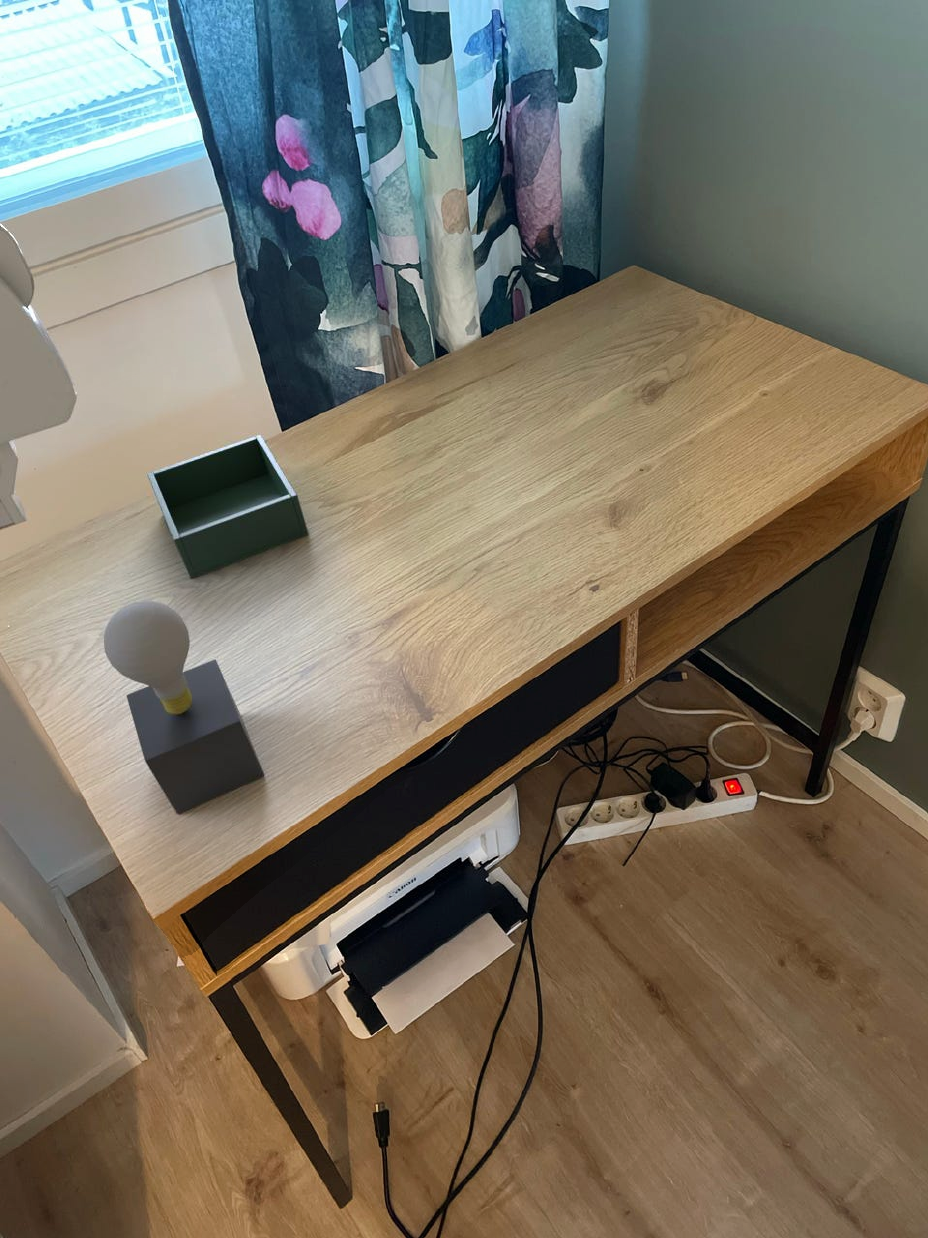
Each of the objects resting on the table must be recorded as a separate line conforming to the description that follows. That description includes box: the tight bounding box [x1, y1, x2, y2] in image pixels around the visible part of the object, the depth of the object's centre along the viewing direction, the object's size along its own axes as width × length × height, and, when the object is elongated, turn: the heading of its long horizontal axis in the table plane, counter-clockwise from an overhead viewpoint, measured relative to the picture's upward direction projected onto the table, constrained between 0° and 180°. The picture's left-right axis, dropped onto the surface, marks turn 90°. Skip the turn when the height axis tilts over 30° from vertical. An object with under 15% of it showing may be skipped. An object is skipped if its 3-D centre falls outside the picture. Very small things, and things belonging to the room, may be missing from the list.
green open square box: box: [146, 434, 309, 580], centre depth 90 cm, size 12×12×5 cm
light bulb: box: [103, 599, 192, 714], centre depth 62 cm, size 6×6×10 cm
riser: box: [126, 659, 265, 815], centre depth 68 cm, size 7×7×7 cm
